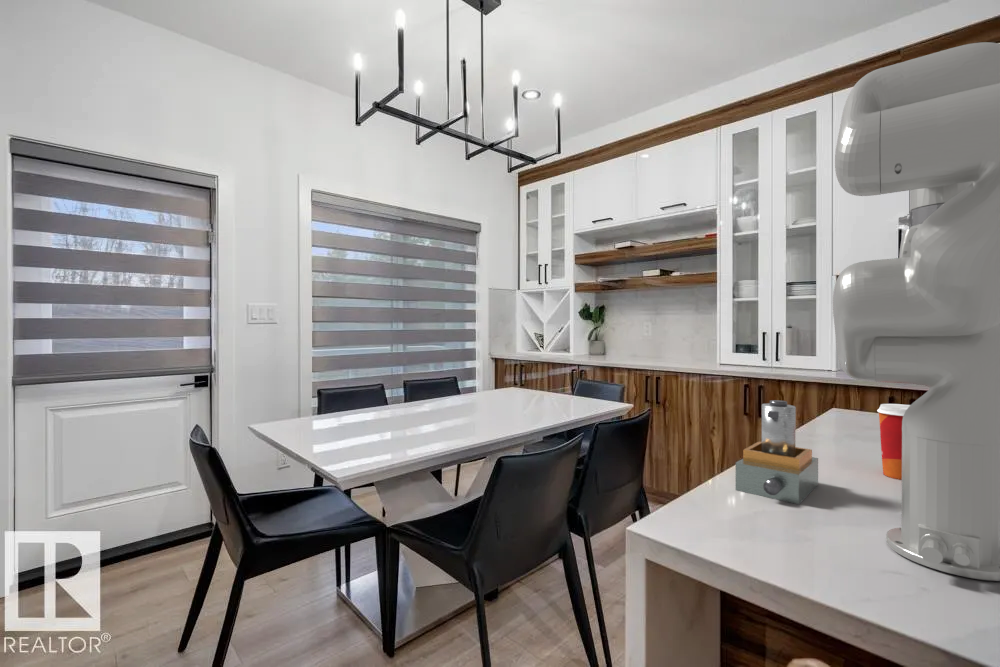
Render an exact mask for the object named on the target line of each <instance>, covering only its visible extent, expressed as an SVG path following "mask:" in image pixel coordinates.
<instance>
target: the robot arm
mask: <svg viewBox="0 0 1000 667" xmlns="http://www.w3.org/2000/svg"><path fill="white" fill-rule="evenodd" d="M840 119H841V120H840V125H839V129H838V134H837V141H836V146H835V154H834V169H835V170H834V171H835V176H836V179H837V182H838V183H839V185H840V188H842V189H843V191H845V192H846V193H848V194H850V195H852V196H857V197H871V196H872V197H873V196H879V195H880V196H881V195H886V194H892V193H893V194H894V193H900V192H901V193H902V192H907V191H909V212H908V213H907V214H906V215H904V216H900V217H898V226H907V227H909V229H905V230H903V232H902V237H901V241H900V246H899V247H900V248H899V257H897V258H884V259H873V260H864V261H859V262H855V263H853V264H850V265H847V267H845V268H844V269H843V270H842V271H841V272H840V274H838V276H837V278H836V280H835V283H834V288H833V293H832V294H833V295H832V314H833V324H834V332H835V341H836V342H835V343H836V351H837V352H836V353H837V356H838V360H839V361H838V362H839V365H840V367H841V369H842V371H843V372H844V373H845V374H846V375H847V376H848V377H849V378H852V379H853V380H857V381H863V382H873V383H891V384H903V385H906V384H908V385H916V386H925V387H928V388H929V389H928V390H927V391H926V392H924V393H923V395H921V396H919V397H918V398H917V399H916V400H915V401H913V402H912V403H911V404H909V405H910V406H909V407H908V409H907V410H906V412H905V413H904V416H903V419H902V480H901V500H900V501H901V503H900V504H901V508H900V509H901V512H900V513H901V514H900V516H901V518H900V519H901V521H900V522H901V523H900V527H896V528H892V529H890V530H888V531H887V532H886V538H885V539H886V544H887V545H888V546H889V547H890V548H891V549H892V550H893V551H894V552H896V553H897V554H899V555H900V556H901V557H904V558H906V559H908V560H909V561H912V562H914V563H916V564H919V565H922V566H924V567H928V568H930V569H933V570H937V571H939V572H943V573H946V574H951V575H955V576H958V577H964V578H969V579H975V580H981V581H994V582H1000V43H996V42H991V41H990V42H987V41H985V42H982V41H981V42H974V43H973V42H972V43H967V44H963V45H959V46H955V47H950V48H948V49H944V50H940V51H937V52H933V53H930V54H927V55H922V56H918V57H916V58H912V59H909V60H905V61H902V62H897V63H895V64H891V65H887V66H884V67H880V68H877V69H874V70H872V71H870V72H868V73H867V74H865V75H864V76H862V77H861V78H860V79H859V80H858V81H856V83H855V84H854V86H853V87H852V89H851V90H850V92H849V94H848V96H847V98H846V101H845V103H844V106H843V110H842V115H841V118H840Z"/></svg>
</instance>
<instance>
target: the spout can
mask: <svg viewBox="0 0 1000 667" xmlns="http://www.w3.org/2000/svg"><path fill="white" fill-rule="evenodd" d="M796 409H797V408H796V406H795V405H791V404H788V401H787V400H777V399H774V400H773V399H771V400H769V402H768V403H762V404H761V442H762V452H766V453H772V454H778V455H784V456H789V457H795V447H796V439H797V438H796V427H797V426H796V421H797V420H796V419H797V418H796V416H797V415H796V413H797V412H796Z"/></svg>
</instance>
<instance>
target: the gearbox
mask: <svg viewBox="0 0 1000 667" xmlns="http://www.w3.org/2000/svg"><path fill="white" fill-rule="evenodd" d="M742 452H743V454H742V456H743V458H742V459H739V460H738V461H735V491H738V492H739V491H740V492H744V493H748V494H751V495H756V496H761V497H765V498H769V499H774V500H779V501H783V502H786V501H787V502H788V503H791V504H795V503H796V505H800V504H801V502H803V501H804V499H806V497H807V496H808V495H809V494H810V493H811V492H812V491H813V490H814V489H815V488H817V486H818V485H819V458H818V457H813V449H811V448H805V447H797V446H795V457H789V456H784V455H778V454H772V453H766V452H762V441H757V442H755V443H753V444H752V445H749V446H748V447H746V448H744V449H743V450H742Z"/></svg>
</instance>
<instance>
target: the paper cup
mask: <svg viewBox="0 0 1000 667" xmlns="http://www.w3.org/2000/svg"><path fill="white" fill-rule="evenodd" d="M910 405H911V404H900V403H880V405H879V408H878V409H877V410H876V411H877V413H878V416H879V417H878V419H879V435H880V449H881V464H882V473H883V476H885V477H886V478H887V477H888V478H890V479H893V480H898V481H902V419H903V416H904V413H905V412H906V410H907V409H908V407H909V406H910Z"/></svg>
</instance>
